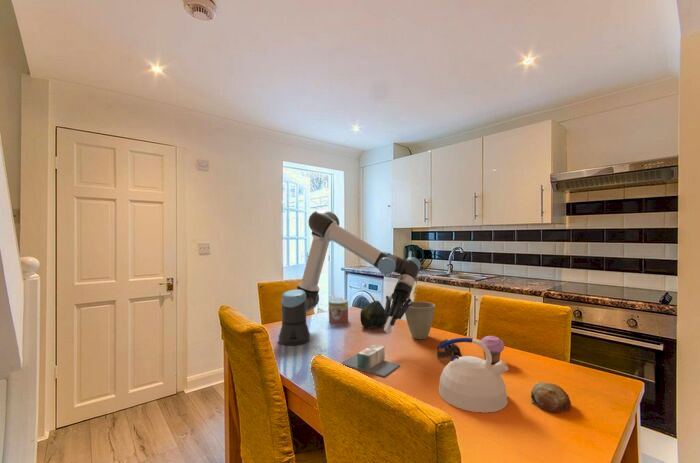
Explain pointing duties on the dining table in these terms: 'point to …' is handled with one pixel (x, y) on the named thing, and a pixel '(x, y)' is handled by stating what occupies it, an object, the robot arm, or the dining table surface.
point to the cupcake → (493, 347)
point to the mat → (379, 369)
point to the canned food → (338, 311)
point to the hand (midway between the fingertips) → (386, 331)
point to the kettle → (473, 381)
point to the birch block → (370, 356)
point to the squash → (373, 315)
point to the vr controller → (448, 350)
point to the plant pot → (420, 319)
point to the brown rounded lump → (550, 397)
